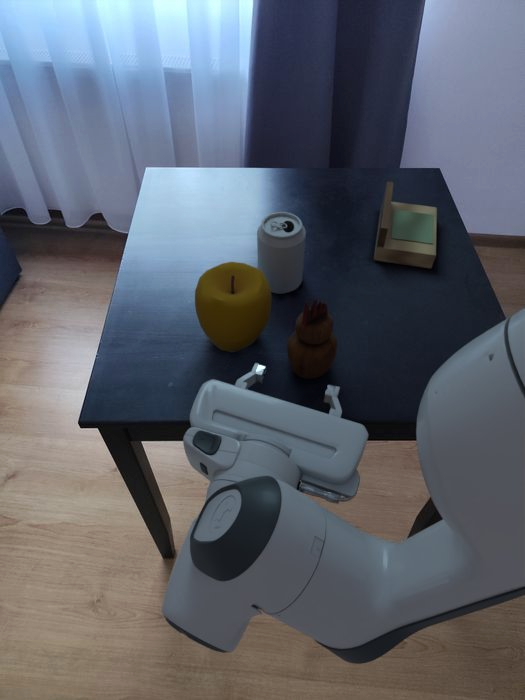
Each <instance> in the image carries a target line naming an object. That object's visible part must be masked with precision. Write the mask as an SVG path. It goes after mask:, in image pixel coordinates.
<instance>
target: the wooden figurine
mask: <svg viewBox="0 0 525 700" xmlns="http://www.w3.org/2000/svg"><path fill="white" fill-rule="evenodd" d="M311 304H312V305H311V307H310V306H309V305H310V304H309V302H308V301H305V302H304V304H303V311H302V312H301V313H300V314H299V315H298V317H297V318H296V319H295V320H296V321H295V326H294V327H295V328H294V329H295V330H294V331H293V332H292V334H291V335H290V336H289V338H288V339H287V343H286V354H287V360H288V363H289V366H290V368H291V370H292V372H293V373H294V374H295V375H296V376H297V377H299V378H302V379H307V380H312V379H313V380H315V379H317V378H320V377H321V376H323V375H324V374H326V373H327V372H328V371H329V370H330V369H331V367H332V365H333V363H334V362H335V359H336V356H337V352H338V351H337V350H338V341H337V337H336V335H335V333H334V332H333V330H334V319H333V317H332V315H331V314H330V313H329V311H328V305H327V303H326V301H325V302H322V301H321V300H320V301H318V299H317V298H314V299H313V301H312V303H311Z"/></svg>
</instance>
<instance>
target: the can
mask: <svg viewBox="0 0 525 700" xmlns="http://www.w3.org/2000/svg"><path fill="white" fill-rule="evenodd" d="M256 234H257V235H256V237H257V238H256V241H257V243H256V244H257V248H256V249H257V268H258V269H259V270H260V271H261V272H262V273H264V275H265V277H266V279H267V282H268V284H269V286H270V290H271V293H273V294H279V295H281V294H282V295H283V294H287V293H290V292H293V291H295V290H296V289H298V288H299V287H300V285H301V284H302V283H303V282H302V281H303V278H304V277H303V276H304V262H305V249H306V236H307V231H306V228H305V226H304V225H303V222H302V219H300V217H298V216H297V215H295V214H294V213H292V212H291V213H290V212H288V211H287V212H286V211H276V212H272V213H269V214H268V215H266V216H264V217H263V219H262V220H261V223H260V225H259V226H258V228H257V230H256Z"/></svg>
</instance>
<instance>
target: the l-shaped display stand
mask: <svg viewBox="0 0 525 700" xmlns="http://www.w3.org/2000/svg"><path fill="white" fill-rule="evenodd" d="M393 191H394V182H393V181H387V182H386V184H385V189H384V194H383V198H382V202H381V208H380V211H379V217H378V224H377V225H378V226H377V232H376V239H375V247H374V254H373V261H377V262H383V263H384V262H385V263H392V264H397V265H404V266H411V267H417V268H425V269H432V268H433V265H434V262H435V260H436V257H437V226H438V225H437V221H438V220H437V219H438V207H435V206H428V205H422V204H413V203H406V202H398V201H392V200H393Z"/></svg>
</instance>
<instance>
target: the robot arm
mask: <svg viewBox="0 0 525 700" xmlns="http://www.w3.org/2000/svg"><path fill="white" fill-rule="evenodd" d="M267 367H268V366H267V365H264V364H261V363H258V362H255V363H254V365H253V367H252V369H251V371H249V372H247V373H245V374H244V375H242V376H241V377H239V378H237V379H236V382H235V384H231V383H228V382H224V381H221V380H219V379H215V378H211V379H209V380H207V381H205V382H203V383H202V385H201V386H200V388H199V390H198V392H197V394H196V396H195V399H194V400H193V404H192V406H191V409H190V413H189V423H190V427H189V428H188V429H187V430H186V431H185V433H184V435H183V439H182V443H183V450H184V452H185V455H186V458H187V461H188V463H189V465H190V466H191V467H192V468H193V469H194V470H195V471H196V472H197V473H199V474H200V475H202V477H204V478H205V479H206V480H208V481H209V484H208V486H207V490H206V494H205V495H206V496H205V501H204V504H203V506H202V508H201V510H200V512H199V513H198V515H197V516H195V518H194V520H193V521H192V522H191V524H190V525H189V528H188V530H187V531H186V534H185V537H184V539H183V541H182V543H181V547H180V549H179V551H178V554H177V556H176V559H175V562H174V564H173V567H172V570H171V573H170V576H169V579H168V581H167V586H166V589H165V592H164V597H163V600H162V605H161V613H162V615H163V616H164V619H165V621H166V622H167V624H168V625H169V626H170V627H171V628H173V629H174V630H176V631H177V632H178V633H180V634H182V635H184V636H186V637H187V638H188V639H189V640H191V641H193V642H195V643H197V644H198V645H201V646H203V647H205V648H207V649H210V650H212V651H215V652H218V653H222V654H225V653H233V652H234V651H235V650H236V648H237V647H238V645H239V644H240V642H241V640H242V638H243V636H244V634H245V632H246V630H247V628H248V626H249V624H250V621H251V619H252V618H254V617H256V616H260V615H262V614H266V615H268V616H270V617H271V618H274V619H276V620H277V621H278V622H281V623H283V624H285V625H287V626H288V627H290V628H292V629H294V630H296V631H298V632H299V633H301V634H303V635H305V636H307V637H309V638H311V639H312V640H313V641H315V642H316V643H317V644H319V645H320V646H322V647H323V648H325V649H326V650H328V651H329V652H331V653H332V654H334V655H335V656H337V657H338V658H340V659H341V660H342V661H345V662H347V663H350V664H353V665H354V664H355V665H361V664H362V665H363V664H368V663H370V662H373V661H375V660H377V659H379V658H381V657H383V656H384V655H386V654H388V652H390V651H391V650H393V649H394V648H395V647H397V646H398V645H400V644H401V643H402V642H403V641H405V640H406V639H408V638H409V637H411V636H412V635H414V634H416V633H418V632H419V631H421V630H424V629H427V628H430V627H432V626H435V625H438V624H441V623H445V622H447V621H451V620H454V619H456V618H457V619H458V618H460V617H464V616H466V615H469V614H472V613H475V612H479V611H481V610H485V609H488V608H491V607H494V606H497V605H500V604H503V603H507V602H509V601H512V600H516V599H518V598H520V597H524V596H525V307H524V308H522V309H520V310H519V311H516V312H515V313H513V314H512V315H511V316H509V317H508V318H505V319H504V320H502V321H501V322H499V323H497V324H495V325H494V326H493V327H491V328H489V329H488V330H486V331H484V332H483V333H481V334H479V335H478V336H477V337H475V338H473V339H472V340H471V341H469V342H468V343H466V344H465V345H463V346H462V347H461V348H460V349H458V350H457V351H456V352H455V353H453V354H452V355H451V356H450V357H449V358H448V359H447V360H445V362H443V363H442V364H441V365H440V366H439V367H438V369H436V371H435V372H434V373H433V374H432V376H431V377H430V379H429V381H428V383H427V384H426V386H425V389H424V392H423V394H422V397H421V399H420V403H419V406H418V410H417V416H416V424H415V425H416V426H415V427H416V428H415V436H416V437H415V439H416V447H417V448H416V450H417V451H416V452H417V456H418V457H417V458H418V463H419V466H420V471H421V475H422V477H423V480H424V483H425V487H426V489H427V492H428V494H429V497H430V499H431V501H432V503H433V505H434V507H435V509H436V510H437V512H438V514H439V515H440V517H441V518H442V519H440V520H439V521H437V522H435V523H434V524H431V525H429V526H428V527H426V528H424V529H422V530H420V531H419V532H417V533H414V534H413V535H411V536H409V537H407V538H406V539H404V540H402V541H397V542H396V541H390V540H386V539H382V538H380V537H377V536H374V535H372V534H370V533H368V532H365V531H364V530H362V529H360V528H358V527H357V526H355V525H354V524H352V523H350V522H348V521H347V520H345V519H344V518H342V517H340V516H339V515H337V514H336V513H334V512H333V511H330V510H329V509H328V508H326V507H325V506H323V505H321V504H320V503H319V502H317V501H316V500H314V499H312V498H311V496H312V497H316V498H320V499H324V500H325V501H326V502H329V503H331V504H340V502H341V503H344V502H349V501H351V500H353V499H354V498H355V497H356V495H357V494H358V490H359V486H360V484H361V483H360V482H361V476H360V473H359V470H358V467H359V465H360V462H361V460H362V458H363V454H364V452H365V449H366V446H367V443H368V440H369V433H368V430H367V427H365V425H363V424H362V423H359V422H356V421H352V420H349V419H346V418H343V417H342V414H343V410H342V406H341V403H340V401H339V400H340V399H339V394H340V390H341V386H337V385H334V384H331V383H328V384H327V387H326V389H325V393H324V398H323V403H326V404H329V405H330V406H329V407H330V409H329V412H328V413H326V412H323V411H319V410H316V409H313V408H310V407H306V406H303V405H300V404H296V403H293V402H290V401H286V400H284V399H280V398H277V397H273V396H271V395H267V394H264V393H260V392H257V391H254V390H250V389H249V388H250V387H252V386H253V385H254V384H256V383H259V384H263V382H264V380H265V377H266V375H267V371H268V369H267ZM308 495H309V496H310V497H309V496H308Z"/></svg>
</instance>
